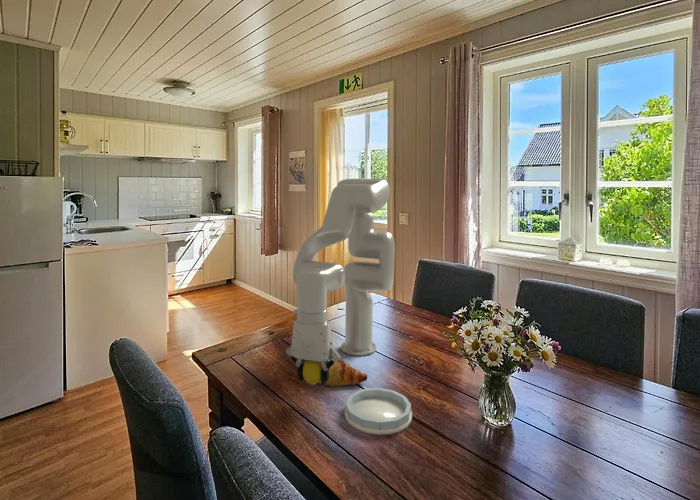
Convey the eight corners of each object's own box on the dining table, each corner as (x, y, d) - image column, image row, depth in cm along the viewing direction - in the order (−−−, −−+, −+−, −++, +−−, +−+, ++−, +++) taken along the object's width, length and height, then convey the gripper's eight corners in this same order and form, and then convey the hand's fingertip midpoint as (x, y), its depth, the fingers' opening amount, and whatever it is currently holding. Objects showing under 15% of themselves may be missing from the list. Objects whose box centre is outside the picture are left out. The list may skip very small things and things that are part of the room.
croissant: (297, 389, 123) (291, 372, 119) (307, 362, 131) (302, 346, 126) (365, 398, 117) (362, 381, 113) (372, 370, 125) (369, 353, 121)
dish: (355, 393, 114) (355, 383, 114) (416, 403, 109) (416, 392, 109) (335, 427, 98) (335, 415, 97) (406, 440, 93) (406, 428, 93)
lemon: (320, 391, 106) (320, 362, 104) (300, 388, 107) (299, 360, 105) (326, 380, 111) (325, 353, 109) (306, 378, 112) (306, 351, 110)
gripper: (275, 317, 104) (277, 382, 107) (339, 324, 99) (339, 392, 103) (288, 308, 111) (289, 369, 114) (348, 314, 106) (348, 378, 110)
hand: (313, 380), depth 108 cm, fingers closed on lemon, 5 cm apart
